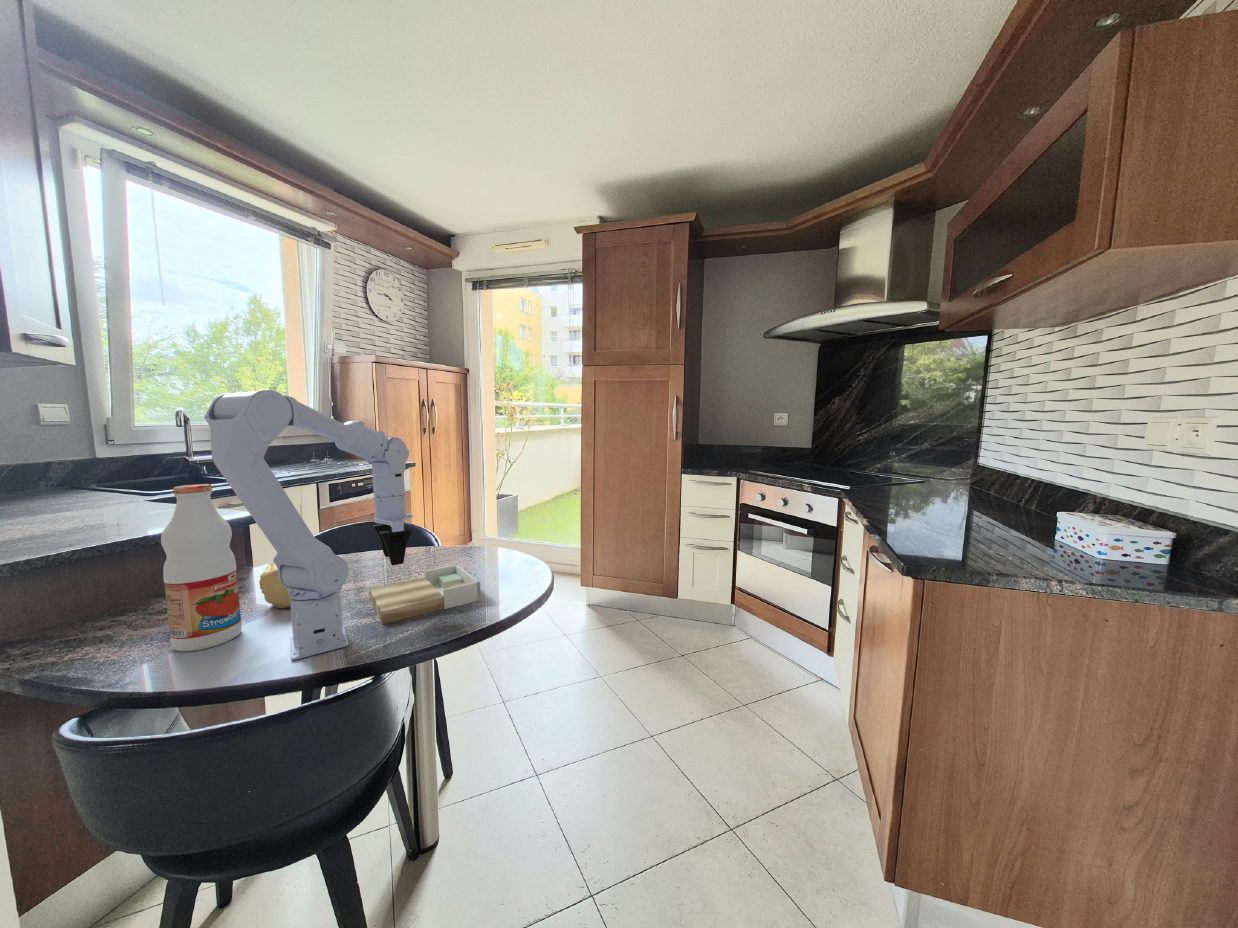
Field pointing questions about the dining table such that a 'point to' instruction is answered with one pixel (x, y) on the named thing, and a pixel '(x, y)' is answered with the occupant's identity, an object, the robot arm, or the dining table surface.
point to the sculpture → (274, 587)
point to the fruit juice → (199, 573)
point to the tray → (458, 593)
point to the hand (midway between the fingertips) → (393, 559)
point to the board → (405, 599)
